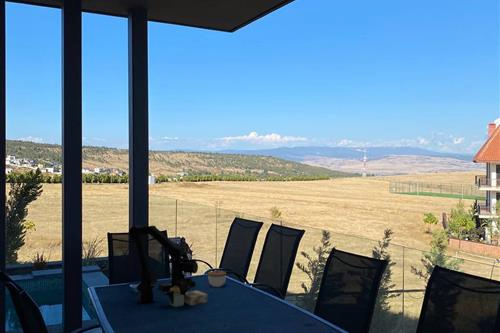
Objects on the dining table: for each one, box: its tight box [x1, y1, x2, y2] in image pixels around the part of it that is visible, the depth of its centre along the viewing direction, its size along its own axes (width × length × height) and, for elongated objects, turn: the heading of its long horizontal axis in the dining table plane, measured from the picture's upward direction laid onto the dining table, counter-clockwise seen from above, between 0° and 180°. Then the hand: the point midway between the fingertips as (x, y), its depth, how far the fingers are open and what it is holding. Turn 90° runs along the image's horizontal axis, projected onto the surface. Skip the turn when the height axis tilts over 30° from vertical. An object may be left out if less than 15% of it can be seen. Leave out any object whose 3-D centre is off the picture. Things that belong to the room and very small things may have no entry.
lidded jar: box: [207, 269, 227, 288], centre depth 274 cm, size 11×11×9 cm
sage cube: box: [169, 293, 185, 308], centre depth 234 cm, size 5×5×5 cm
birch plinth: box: [184, 290, 208, 306], centre depth 241 cm, size 10×10×4 cm
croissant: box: [163, 283, 180, 295], centre depth 262 cm, size 21×10×8 cm, turn 149°
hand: (177, 302), depth 234 cm, fingers closed on sage cube, 5 cm apart
